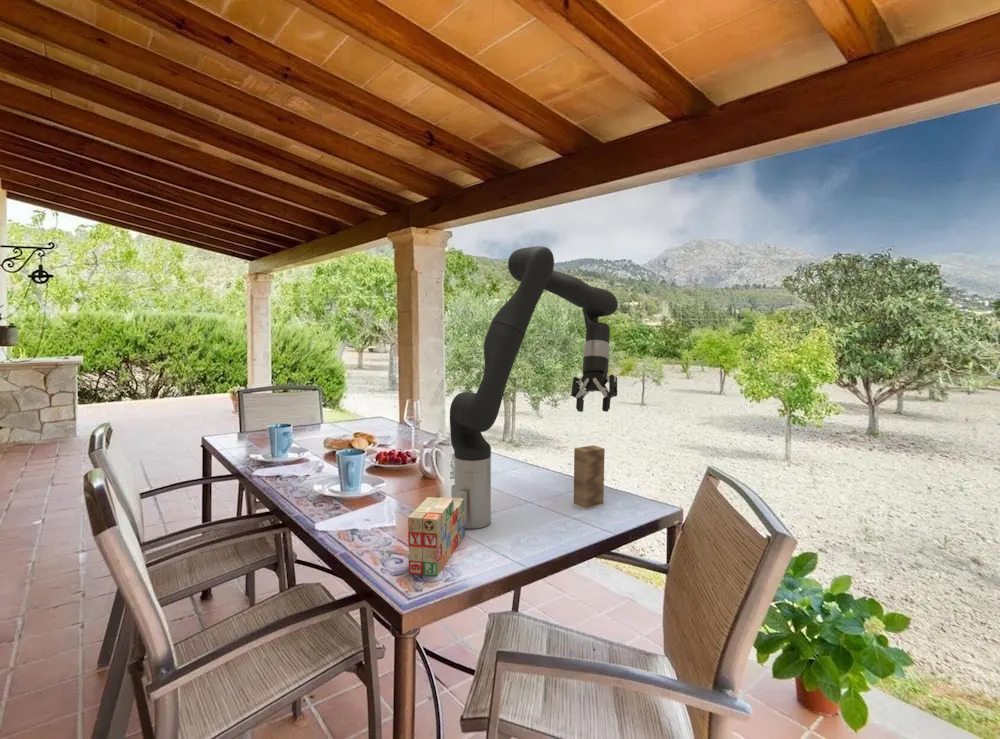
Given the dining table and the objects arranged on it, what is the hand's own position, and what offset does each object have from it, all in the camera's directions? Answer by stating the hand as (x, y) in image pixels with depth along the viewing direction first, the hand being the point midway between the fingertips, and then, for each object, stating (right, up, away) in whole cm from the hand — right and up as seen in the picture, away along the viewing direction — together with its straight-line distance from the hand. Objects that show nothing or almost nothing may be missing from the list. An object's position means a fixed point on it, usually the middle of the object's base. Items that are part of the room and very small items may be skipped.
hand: (592, 411), depth 158 cm
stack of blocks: (-41, -29, -38) cm, 62 cm away
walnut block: (-2, -26, -7) cm, 26 cm away
